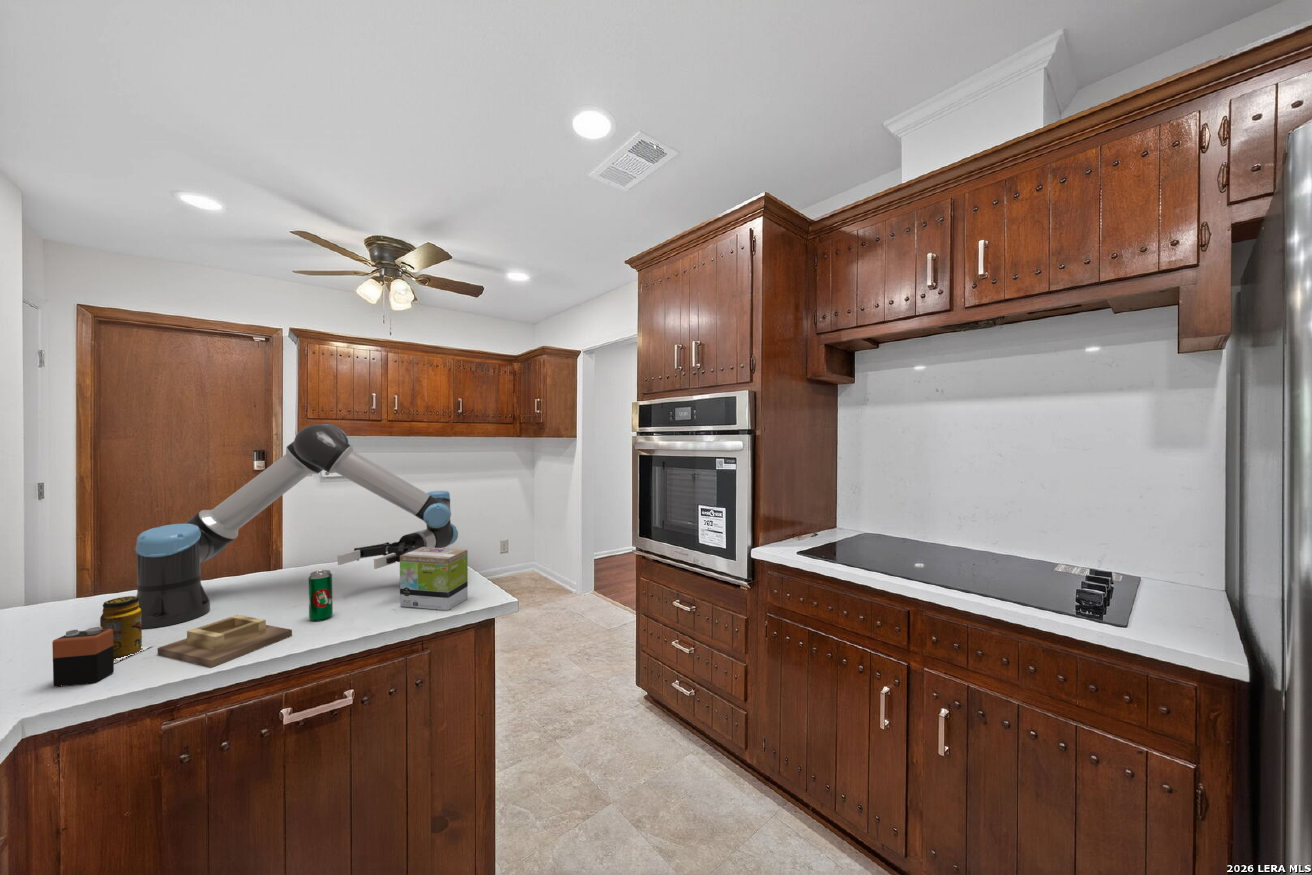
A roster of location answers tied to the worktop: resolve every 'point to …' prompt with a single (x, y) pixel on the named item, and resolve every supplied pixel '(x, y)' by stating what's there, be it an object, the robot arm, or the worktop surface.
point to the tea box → (433, 578)
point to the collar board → (224, 640)
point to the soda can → (320, 595)
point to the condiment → (123, 625)
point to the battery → (83, 656)
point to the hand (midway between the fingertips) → (356, 562)
